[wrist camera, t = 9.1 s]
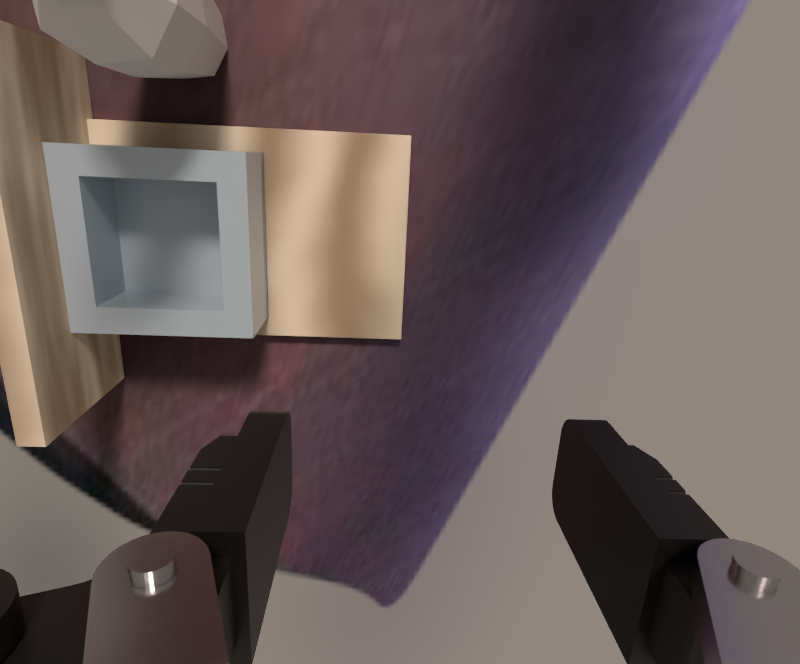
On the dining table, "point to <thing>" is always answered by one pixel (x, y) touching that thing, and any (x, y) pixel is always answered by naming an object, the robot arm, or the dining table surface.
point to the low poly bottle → (140, 34)
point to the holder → (160, 239)
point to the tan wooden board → (285, 231)
